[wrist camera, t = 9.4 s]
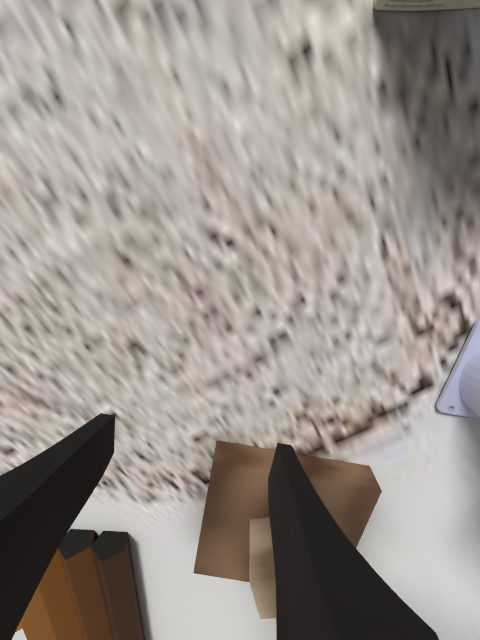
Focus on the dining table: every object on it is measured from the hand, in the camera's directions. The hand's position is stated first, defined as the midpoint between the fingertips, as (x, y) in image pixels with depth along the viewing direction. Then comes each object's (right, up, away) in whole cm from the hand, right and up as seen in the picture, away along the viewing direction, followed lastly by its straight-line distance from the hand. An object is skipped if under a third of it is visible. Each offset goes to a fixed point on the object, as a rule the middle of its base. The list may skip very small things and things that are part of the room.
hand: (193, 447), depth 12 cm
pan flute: (-22, -28, +22) cm, 42 cm away
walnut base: (+6, -13, +15) cm, 21 cm away
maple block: (+6, -14, +13) cm, 19 cm away
